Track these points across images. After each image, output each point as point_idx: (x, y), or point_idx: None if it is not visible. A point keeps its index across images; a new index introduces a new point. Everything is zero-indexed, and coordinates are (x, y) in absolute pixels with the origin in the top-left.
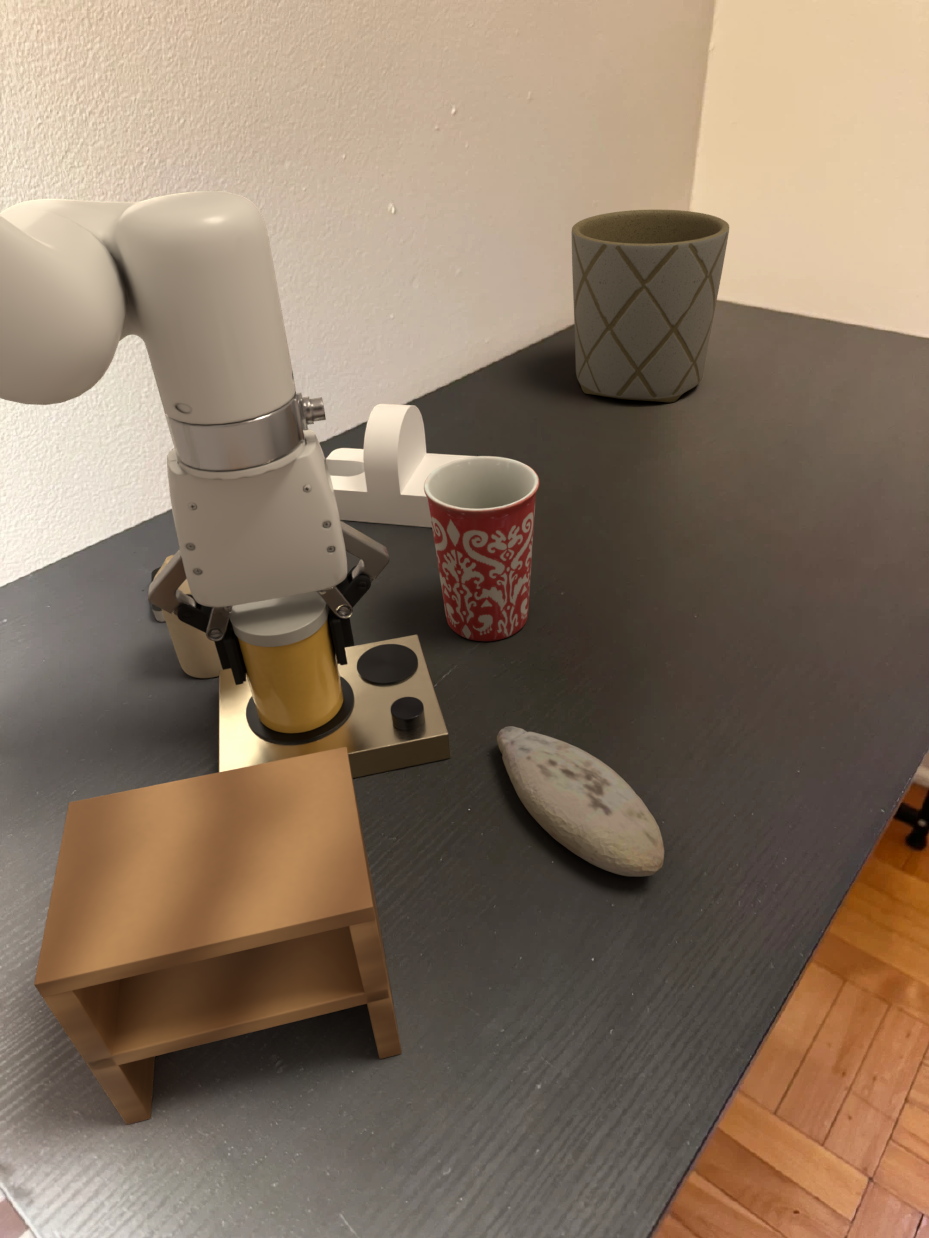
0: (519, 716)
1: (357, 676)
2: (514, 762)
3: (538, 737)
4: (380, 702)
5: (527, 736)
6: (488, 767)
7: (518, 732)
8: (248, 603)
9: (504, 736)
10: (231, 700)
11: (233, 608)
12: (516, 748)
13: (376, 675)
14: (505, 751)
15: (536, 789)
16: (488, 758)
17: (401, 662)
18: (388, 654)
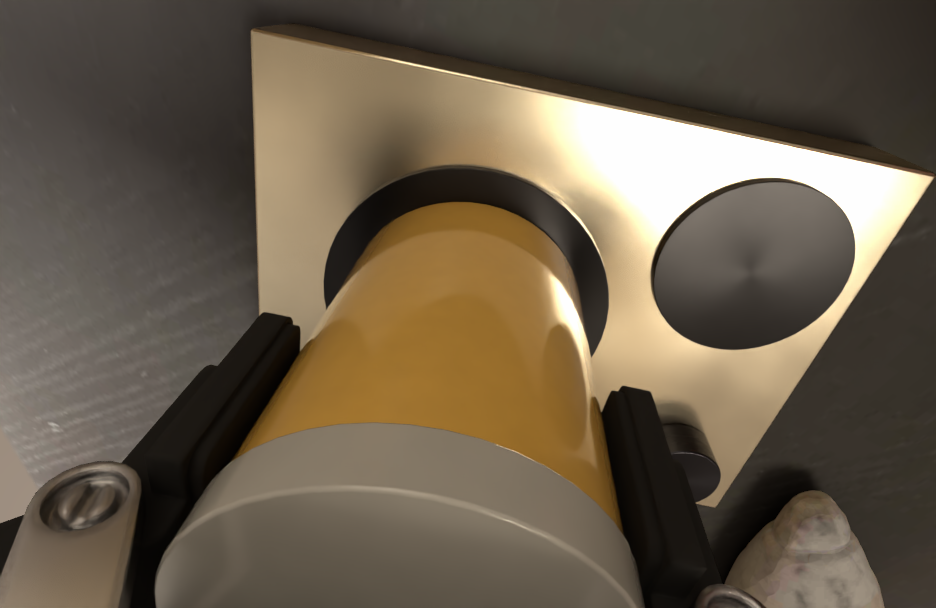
0: (889, 431)
1: (645, 275)
2: (766, 594)
3: (847, 589)
4: (646, 383)
5: (834, 576)
6: (738, 492)
7: (833, 543)
8: (249, 597)
9: (803, 538)
10: (289, 203)
11: (173, 588)
12: (793, 585)
13: (691, 306)
14: (775, 560)
15: None
16: (753, 479)
17: (786, 290)
18: (779, 242)
